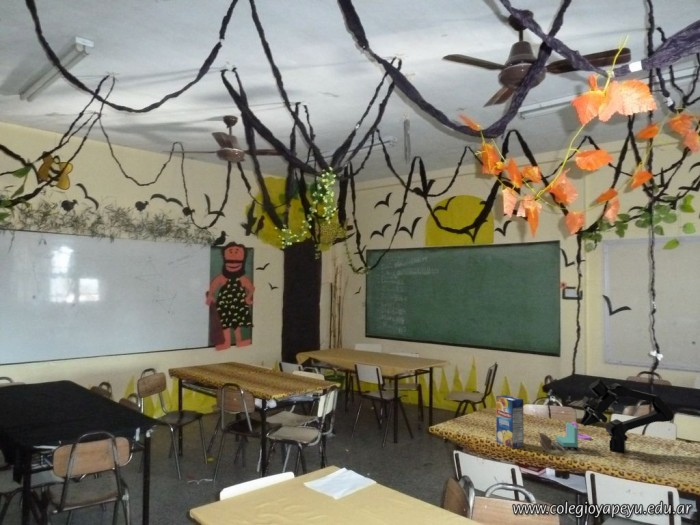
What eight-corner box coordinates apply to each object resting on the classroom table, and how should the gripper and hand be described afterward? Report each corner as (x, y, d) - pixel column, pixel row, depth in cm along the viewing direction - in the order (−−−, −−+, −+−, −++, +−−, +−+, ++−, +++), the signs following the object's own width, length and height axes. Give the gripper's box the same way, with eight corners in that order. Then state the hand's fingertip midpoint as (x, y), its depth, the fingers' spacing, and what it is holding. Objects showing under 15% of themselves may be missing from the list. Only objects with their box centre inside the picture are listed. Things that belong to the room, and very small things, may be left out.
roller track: (573, 445, 265) (573, 434, 265) (583, 453, 252) (583, 441, 252) (538, 444, 266) (538, 432, 266) (546, 452, 253) (546, 439, 253)
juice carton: (496, 442, 269) (496, 396, 271) (507, 440, 272) (507, 395, 274) (512, 448, 258) (512, 400, 260) (523, 446, 262) (523, 399, 263)
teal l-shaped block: (569, 440, 264) (569, 422, 265) (577, 447, 253) (577, 428, 254) (555, 440, 265) (555, 422, 265) (563, 446, 254) (563, 427, 254)
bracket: (565, 435, 286) (565, 422, 286) (572, 433, 289) (571, 421, 289) (587, 441, 275) (586, 427, 275) (593, 439, 278) (593, 426, 278)
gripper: (585, 388, 269) (564, 408, 269) (600, 395, 250) (577, 417, 250) (600, 403, 268) (579, 424, 268) (617, 411, 249) (594, 433, 249)
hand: (582, 424), depth 259 cm, fingers open, 3 cm apart
